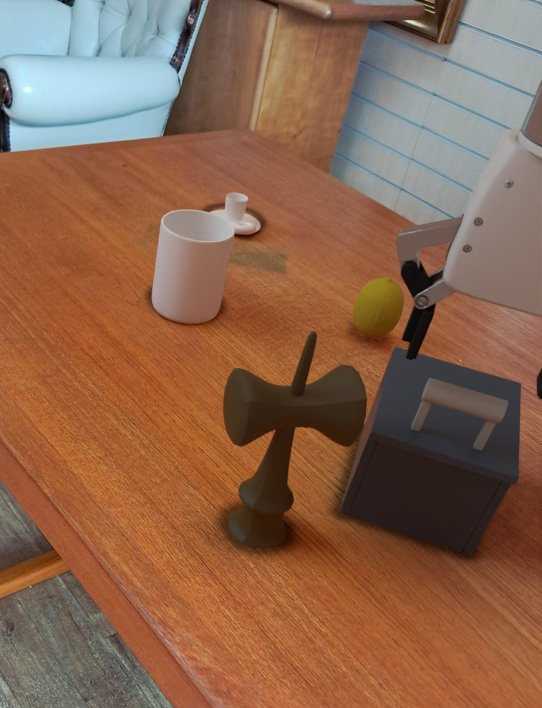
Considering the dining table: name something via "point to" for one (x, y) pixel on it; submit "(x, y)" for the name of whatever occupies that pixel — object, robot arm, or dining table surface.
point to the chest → (419, 494)
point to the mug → (191, 265)
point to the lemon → (378, 307)
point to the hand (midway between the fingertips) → (475, 370)
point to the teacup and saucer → (238, 214)
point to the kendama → (285, 435)
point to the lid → (450, 415)
